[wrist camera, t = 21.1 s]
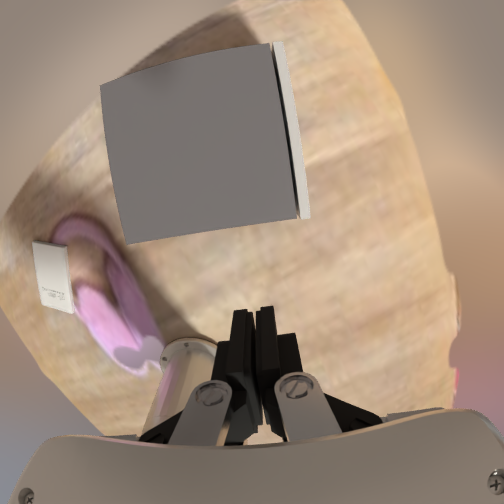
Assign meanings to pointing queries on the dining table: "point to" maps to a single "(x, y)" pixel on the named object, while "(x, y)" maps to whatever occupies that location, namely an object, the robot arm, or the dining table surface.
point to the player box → (198, 145)
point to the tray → (291, 130)
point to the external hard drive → (53, 275)
